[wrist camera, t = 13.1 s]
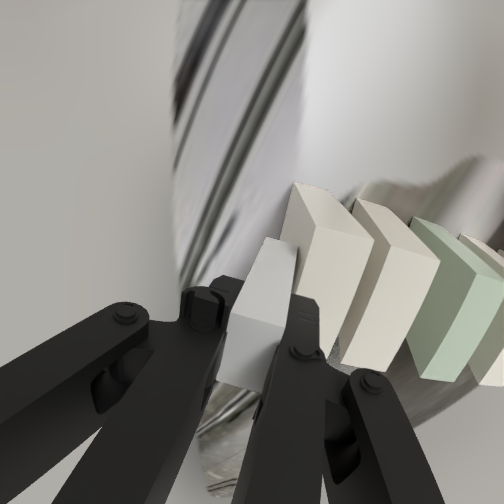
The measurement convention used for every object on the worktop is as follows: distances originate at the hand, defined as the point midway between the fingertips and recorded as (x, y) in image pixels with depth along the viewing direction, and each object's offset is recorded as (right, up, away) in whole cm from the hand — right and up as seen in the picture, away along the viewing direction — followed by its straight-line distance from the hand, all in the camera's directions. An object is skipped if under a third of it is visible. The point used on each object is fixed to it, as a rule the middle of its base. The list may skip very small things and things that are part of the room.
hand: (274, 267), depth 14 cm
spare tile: (+11, 0, +6) cm, 13 cm away
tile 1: (+2, +2, +7) cm, 8 cm away
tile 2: (+7, +1, +7) cm, 10 cm away
